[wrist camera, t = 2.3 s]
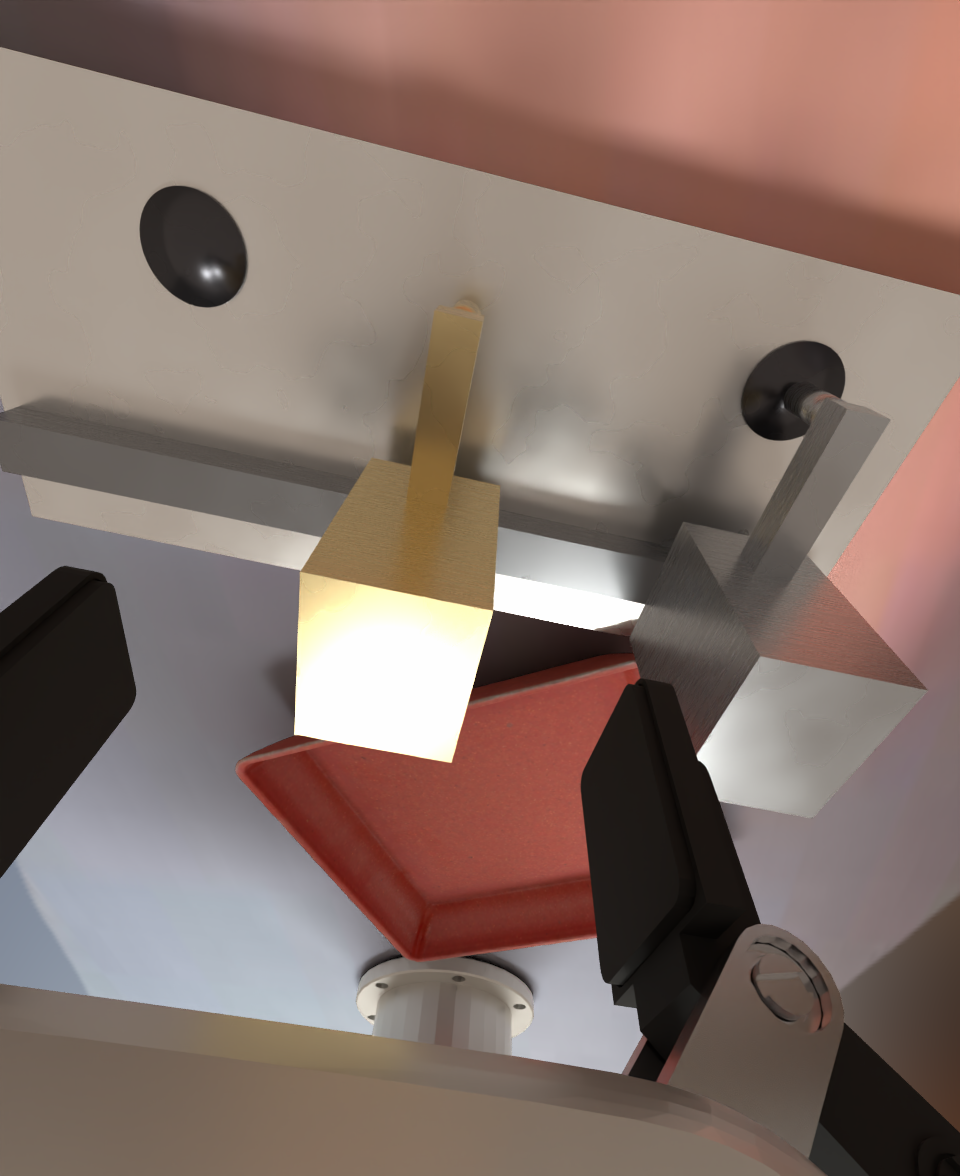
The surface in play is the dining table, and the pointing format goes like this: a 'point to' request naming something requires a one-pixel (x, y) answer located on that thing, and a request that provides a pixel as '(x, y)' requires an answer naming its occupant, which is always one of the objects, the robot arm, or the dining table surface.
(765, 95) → the dining table surface
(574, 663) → the plant saucer
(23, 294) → the hole plate
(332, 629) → the tan stemmed block
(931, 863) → the dining table surface
